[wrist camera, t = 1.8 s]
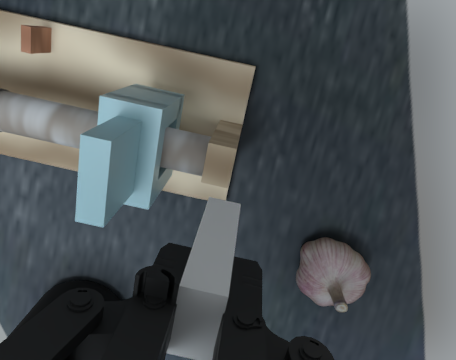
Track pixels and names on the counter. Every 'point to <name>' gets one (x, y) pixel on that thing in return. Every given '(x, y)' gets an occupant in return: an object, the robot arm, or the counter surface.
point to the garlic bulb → (332, 273)
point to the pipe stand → (110, 81)
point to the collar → (125, 152)
